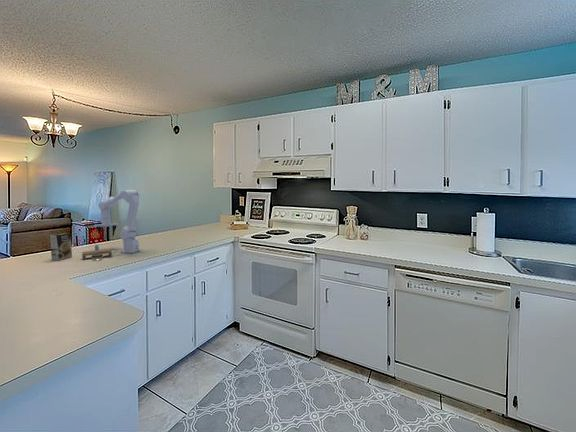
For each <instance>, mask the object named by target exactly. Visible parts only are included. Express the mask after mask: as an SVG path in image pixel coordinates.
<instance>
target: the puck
mask: <svg viewBox="0 0 576 432" xmlns="http://www.w3.org/2000/svg"><path fill="white" fill-rule="evenodd" d="M100 261H101V262H102V261H103V259H102V258H96V259H93V260H92V262H100Z"/></svg>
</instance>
